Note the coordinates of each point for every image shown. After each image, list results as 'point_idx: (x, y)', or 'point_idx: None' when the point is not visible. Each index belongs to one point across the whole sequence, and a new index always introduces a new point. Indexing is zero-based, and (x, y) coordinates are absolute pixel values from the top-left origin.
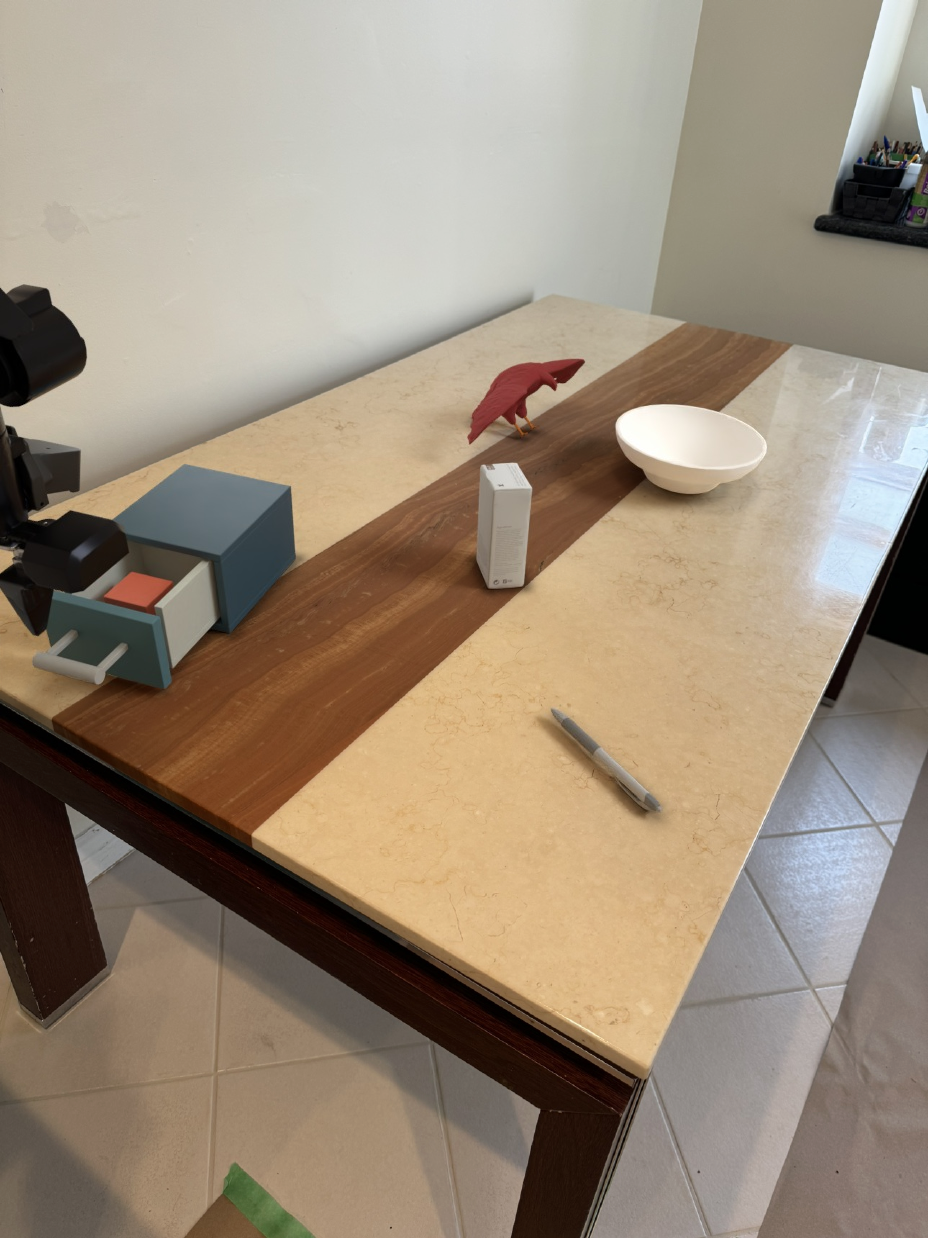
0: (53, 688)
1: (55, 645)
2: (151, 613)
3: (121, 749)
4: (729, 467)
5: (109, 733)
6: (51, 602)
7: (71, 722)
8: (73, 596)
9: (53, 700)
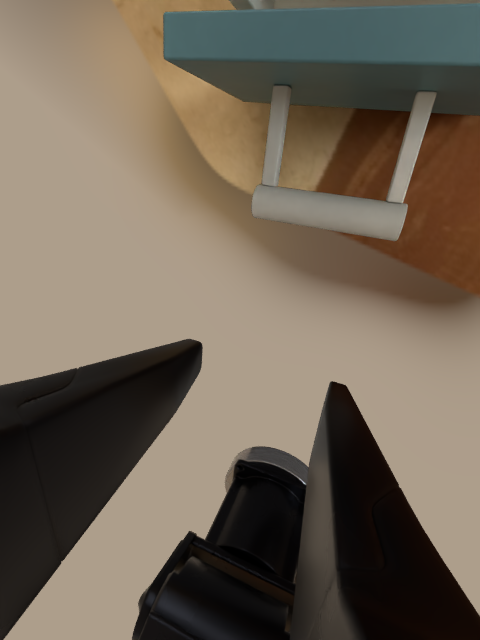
0: None
1: (269, 156)
2: None
3: (435, 268)
4: None
5: (402, 238)
6: (379, 449)
7: None
8: (255, 19)
9: (283, 185)
